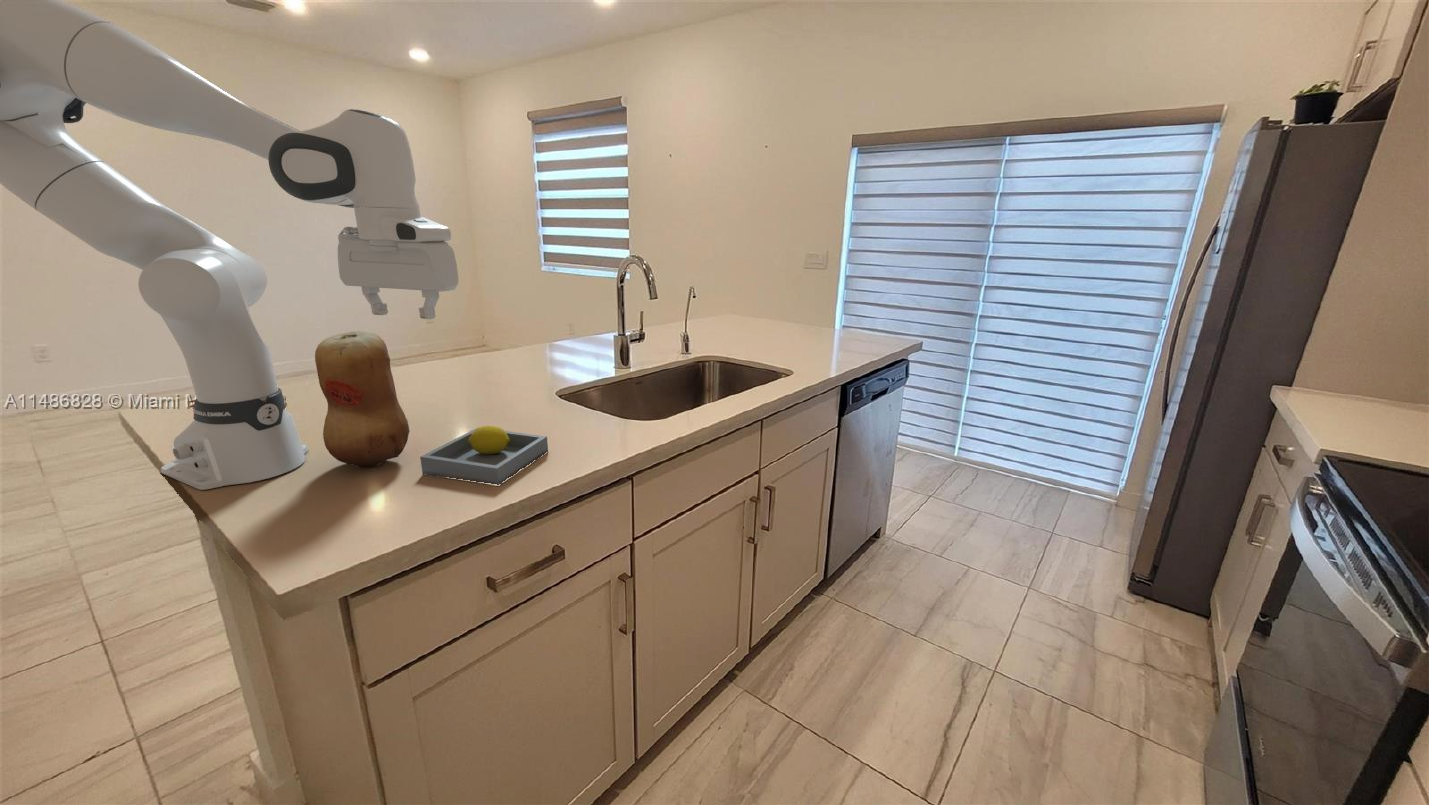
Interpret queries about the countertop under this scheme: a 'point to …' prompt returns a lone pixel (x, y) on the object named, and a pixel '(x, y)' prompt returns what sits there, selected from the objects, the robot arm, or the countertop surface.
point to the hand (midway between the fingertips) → (403, 316)
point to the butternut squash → (360, 400)
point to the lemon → (489, 439)
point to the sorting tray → (483, 458)
